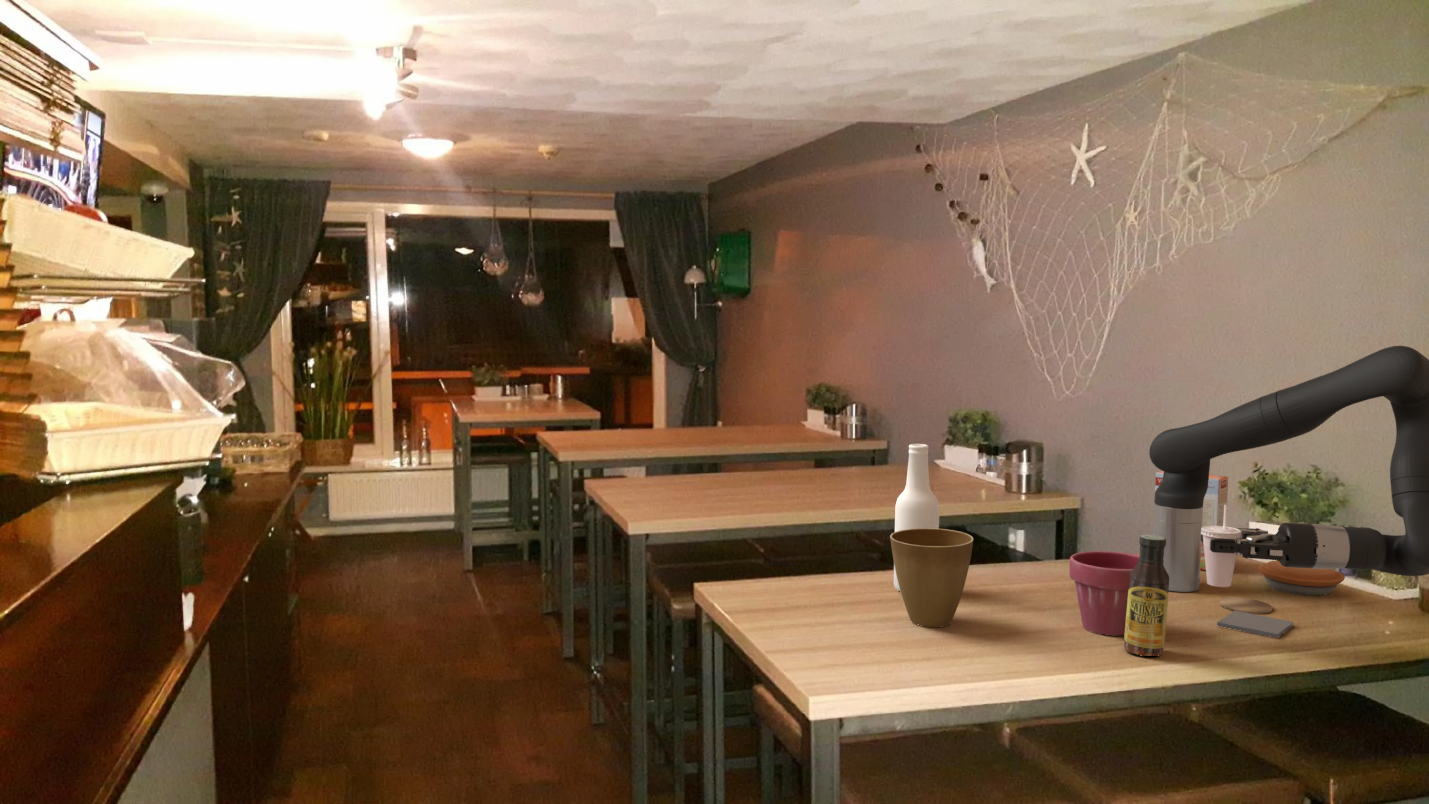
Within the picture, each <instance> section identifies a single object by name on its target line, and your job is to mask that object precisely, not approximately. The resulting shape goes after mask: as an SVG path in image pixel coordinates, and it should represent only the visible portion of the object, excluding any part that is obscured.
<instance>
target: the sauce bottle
mask: <svg viewBox="0 0 1429 804" xmlns="http://www.w3.org/2000/svg"><path fill="white" fill-rule="evenodd" d="M1138 540H1139V541H1138V543H1139V555H1138V556H1139V561H1138V563H1137V564H1136V566H1135V567H1134V569H1133V570H1132V571H1131V573H1130V585H1129V589H1128V599H1127V611H1126V623H1125V634H1124V636H1123V639H1124V650H1125V651H1126V652H1127V651H1128V652H1127V653H1129V652H1130V654H1132V655H1134V654H1136V655H1135V656H1138V655H1142V656H1141V657H1143V656H1158V655H1159V656H1161V655H1162V654H1163V651H1164V648H1165V647H1164V646H1165V638H1166V637H1165V636H1166V627H1167V618H1168V606H1169V605H1168V603H1169V590H1168V588H1169V575H1168V573H1167V572H1166V570H1165V568H1164V565H1163V563H1164V560H1163V557H1164V548H1165V546H1166V538H1164V537H1161V536H1157V535H1153V534H1141V535H1139V539H1138ZM1159 656H1158V657H1159Z"/></svg>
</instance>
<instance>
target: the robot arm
mask: <svg viewBox="0 0 1429 804" xmlns="http://www.w3.org/2000/svg"><path fill="white" fill-rule="evenodd" d="M1381 397H1384V398H1385V399H1386V400H1388V401H1389V402H1390V405H1391V408H1392V412H1393V417H1394V421H1395V427H1396V428H1395V429H1396V432H1395V433H1396V434H1395V443H1394V448H1393V452H1392V453H1391V454H1392V455H1391V459H1390V465H1389V466H1390V467H1389V479H1390V491H1391V501H1392V508H1393V510H1394V512H1395V514H1396V515H1397V516H1398V517H1400V518H1402V520H1403V523H1404V531H1405V534H1404V535H1403V534H1402V535H1399V534H1398V535H1396V534H1395V535H1392V534H1391V535H1390V534H1382V533H1381V532H1380V531H1379V530H1377V529H1374V528H1371V527H1370V528H1368V527H1355V526H1340V525H1339V526H1337V525H1332V524H1325V523H1324V524H1322V523H1321V524H1320V523H1319V524H1318V523H1299V522H1283V523H1281V524H1280V525H1279V527H1278V529H1277V532H1276V533H1275V534H1273V533H1269V531H1268V530H1264V529H1262V528H1258V527H1255V528H1247V527H1245V528H1243V527H1242V528H1241V527H1235V528H1236V529H1239V530H1241V531H1242V537H1241V538H1240V539H1238V540H1236V542H1235V540H1230V539H1211V540H1210V550H1211V551H1212V552H1217V553H1234V552H1235V554H1236V556H1239V557H1241V556H1242V558H1244V559H1256V560H1270V561H1276V560H1277V561H1279V562H1280V563H1281V565H1282V566H1284V567H1295V568H1314V569H1334V570H1337V569H1347V570H1368V571H1369V570H1374V571H1377V572H1380V573H1381V572H1382V573H1387V574H1390V575H1391V574H1392V575H1397V576H1405V577H1421V576H1427V575H1429V358H1427V357H1426V356H1424V355H1423V354H1422V353H1421V352H1420V351H1418V350H1416V349H1414V348H1412V347H1410V346H1406V345H1393V346H1388V347H1385V348H1381V349H1379V350H1377V351H1375V352H1373V353H1371V354H1369V355H1365V356H1364V357H1361V358H1359V359H1357V360H1355V361H1354V362H1351V363H1348V364H1347V365H1345V366H1343V367H1340V368H1338V369H1336V370H1334V371H1331V372H1329V373H1326V374H1323V375H1322V374H1321V375H1320V376H1317V377H1314V378H1311V379H1309V380H1306V381H1304V382H1301V383H1297V384H1295V385H1293V386H1290V387H1286V388H1283V389H1279V390H1277V391H1274V392H1271V393H1269V394H1265V395H1262V396H1260V397H1258V398H1256V399H1253V400H1250V401H1247V402H1246V403H1243V404H1240V405H1239V406H1237V407H1234V408H1232V409H1230V410H1227V411H1226V412H1223V413H1221V414H1219V415H1217V416H1215V417H1213V418H1209V419H1208V420H1204V421H1201V422H1198V423H1197V422H1196V423H1193V424H1190V425H1186V426H1182V427H1181V426H1180V427H1175V428H1169V429H1166V430H1164V431H1162V432H1161V433H1159V434H1157V436H1155V438H1153V440H1152V442H1151V444H1150V446H1149V451H1148V453H1149V458H1150V461H1151V463H1152V464H1153V465H1154V466H1155V467H1156V468H1157V469H1159V470H1160V471H1164V474H1163V479H1162V482H1161V484H1160V485H1159V487H1158V488H1157V489H1156V491H1155V490H1154V503H1153V504H1154V507H1153V526H1152V527H1153V530H1152V535H1157V536H1161V537H1164V538H1166V546H1165V548H1164V557H1163V560H1164V563H1163V565H1164V568H1165V570H1166V572H1167V573H1168V575H1169V588H1168V591H1171V592H1181V593H1182V592H1183V593H1184V592H1185V593H1186V592H1187V593H1189V592H1190V593H1191V592H1196V591H1198V590H1200V581H1201V569H1200V563H1201V542H1202V543H1203V535H1202V534H1201V528H1202V522H1203V502H1204V497H1205V495H1206V492H1207V489H1208V481H1209V475H1210V469H1211V468H1210V466H1211V459H1214V458H1218V457H1220V456H1223V455H1227V454H1231V453H1235V452H1240V451H1246V450H1251V449H1257V448H1261V447H1266V446H1269V445H1274V444H1277V443H1281V442H1284V441H1287V440H1291V439H1294V438H1297V437H1299V436H1303V435H1305V434H1308V433H1311V432H1312V431H1313V430H1316V429H1317V428H1318V427H1320V426H1321V425H1322V424H1324V423H1326V422H1327V421H1328V419H1330V418H1331V417H1332V416H1334V415H1335V414H1336V413H1338V412H1339V411H1340V410H1343V409H1345V408H1347V407H1349V406H1352V405H1356V404H1358V403H1363V402H1364V401H1367V400H1368V401H1369V400H1372V399H1376V398H1377V399H1378V398H1381Z"/></svg>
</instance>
